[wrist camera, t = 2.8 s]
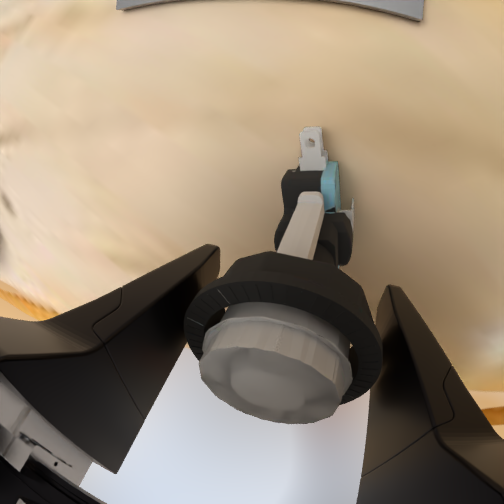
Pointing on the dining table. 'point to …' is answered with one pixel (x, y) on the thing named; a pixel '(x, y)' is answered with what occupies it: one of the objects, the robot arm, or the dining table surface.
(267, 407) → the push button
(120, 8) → the dock
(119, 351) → the robot arm
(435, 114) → the dining table surface
